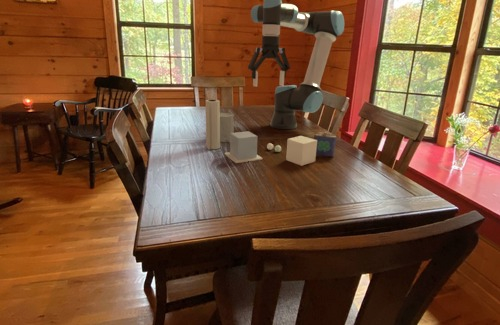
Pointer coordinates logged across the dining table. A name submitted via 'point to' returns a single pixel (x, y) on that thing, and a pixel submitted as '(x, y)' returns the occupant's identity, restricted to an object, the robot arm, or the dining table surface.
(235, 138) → the pale sage cube
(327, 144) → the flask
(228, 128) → the speckled beige cylinder
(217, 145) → the paper towel roll
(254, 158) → the mat
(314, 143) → the beige rectangular block
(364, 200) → the dining table surface
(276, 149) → the green marble
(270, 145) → the white marble
